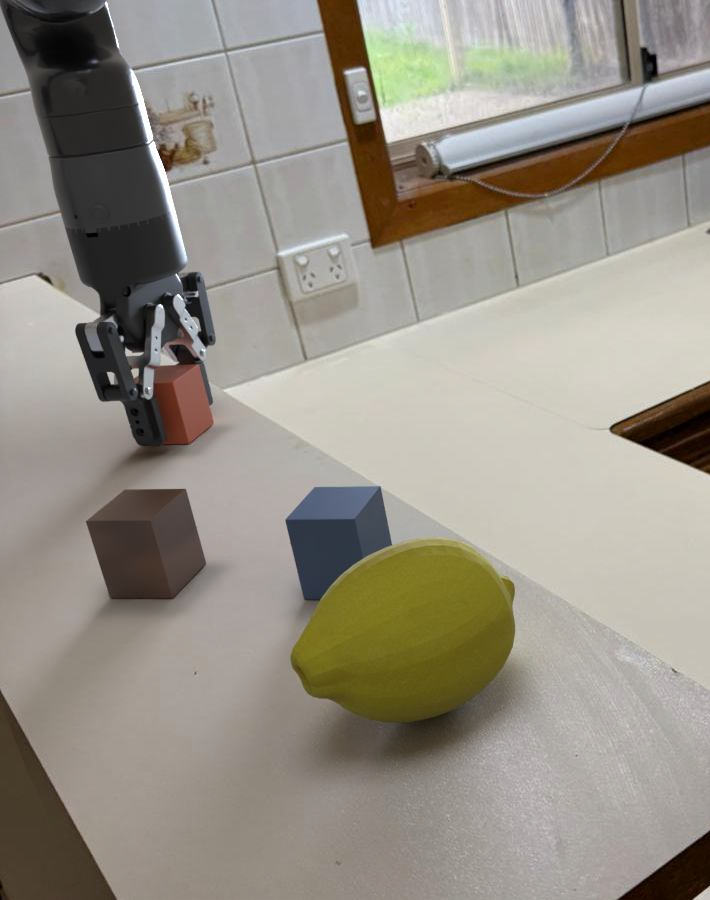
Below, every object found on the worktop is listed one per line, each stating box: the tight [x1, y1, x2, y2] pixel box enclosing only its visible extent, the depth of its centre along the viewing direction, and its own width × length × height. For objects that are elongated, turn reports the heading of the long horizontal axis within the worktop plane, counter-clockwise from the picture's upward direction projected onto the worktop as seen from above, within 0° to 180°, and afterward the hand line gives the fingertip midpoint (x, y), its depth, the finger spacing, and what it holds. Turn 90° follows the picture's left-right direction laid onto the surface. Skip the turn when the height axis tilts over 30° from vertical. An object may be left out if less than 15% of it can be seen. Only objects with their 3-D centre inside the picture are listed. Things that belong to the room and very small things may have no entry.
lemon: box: [289, 536, 516, 724], centre depth 51 cm, size 11×8×8 cm
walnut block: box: [85, 488, 207, 599], centre depth 66 cm, size 4×4×5 cm
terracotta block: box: [133, 364, 215, 445], centre depth 88 cm, size 4×4×5 cm
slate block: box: [284, 485, 393, 601], centre depth 63 cm, size 4×4×5 cm
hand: (176, 424), depth 88 cm, fingers open, 6 cm apart
